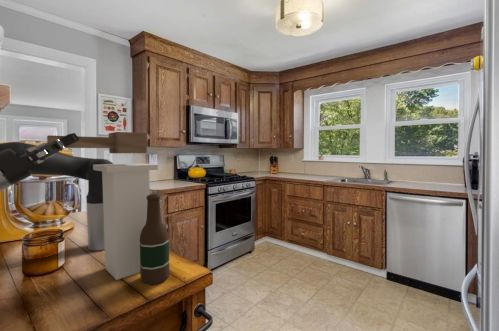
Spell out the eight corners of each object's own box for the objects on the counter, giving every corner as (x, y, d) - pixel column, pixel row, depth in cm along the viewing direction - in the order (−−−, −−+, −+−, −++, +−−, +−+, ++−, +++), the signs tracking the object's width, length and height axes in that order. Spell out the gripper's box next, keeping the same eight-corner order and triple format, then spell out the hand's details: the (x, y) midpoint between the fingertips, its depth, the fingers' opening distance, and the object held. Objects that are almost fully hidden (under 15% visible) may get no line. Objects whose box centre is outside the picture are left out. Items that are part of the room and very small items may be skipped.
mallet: (46, 153, 67) (45, 130, 66) (136, 152, 83) (135, 134, 83) (51, 153, 61) (50, 128, 61) (146, 153, 77) (146, 133, 77)
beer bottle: (175, 276, 73) (173, 194, 72) (151, 289, 67) (149, 198, 66) (158, 269, 78) (156, 191, 76) (134, 280, 71) (132, 195, 70)
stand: (96, 269, 78) (93, 164, 76) (142, 255, 88) (140, 163, 86) (110, 284, 69) (106, 166, 67) (159, 267, 79) (157, 164, 77)
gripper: (8, 183, 64) (77, 148, 74) (11, 189, 54) (91, 148, 64) (-15, 157, 61) (61, 125, 71) (-16, 158, 51) (72, 121, 61)
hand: (74, 136), depth 68 cm, fingers closed on mallet, 3 cm apart
